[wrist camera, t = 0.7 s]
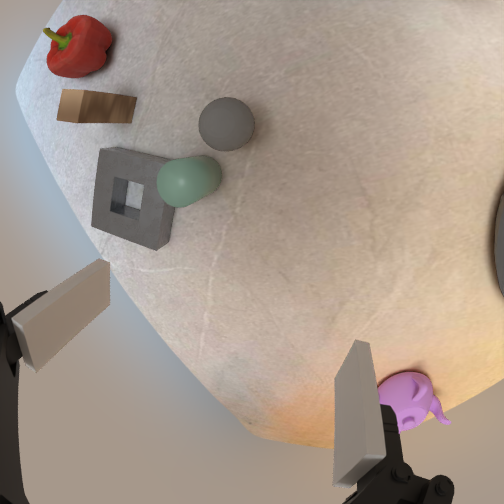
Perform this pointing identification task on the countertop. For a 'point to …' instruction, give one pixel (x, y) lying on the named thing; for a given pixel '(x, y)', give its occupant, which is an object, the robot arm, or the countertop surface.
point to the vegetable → (78, 47)
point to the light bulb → (226, 124)
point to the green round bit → (188, 180)
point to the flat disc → (500, 244)
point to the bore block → (114, 194)
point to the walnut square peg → (95, 107)
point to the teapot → (410, 399)
